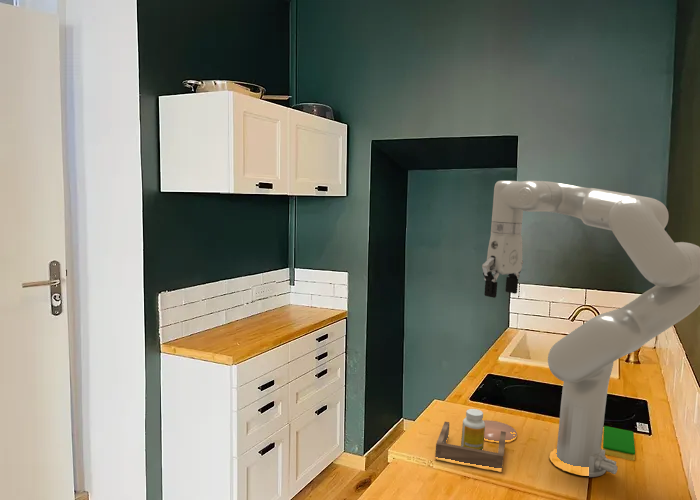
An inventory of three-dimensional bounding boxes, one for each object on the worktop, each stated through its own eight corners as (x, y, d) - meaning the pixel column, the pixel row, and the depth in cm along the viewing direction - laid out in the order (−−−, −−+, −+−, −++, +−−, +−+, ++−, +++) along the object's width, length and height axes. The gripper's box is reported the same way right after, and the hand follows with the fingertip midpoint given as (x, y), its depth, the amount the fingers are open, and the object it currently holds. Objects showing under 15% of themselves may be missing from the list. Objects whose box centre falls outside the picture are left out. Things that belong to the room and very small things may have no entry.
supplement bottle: (457, 444, 140) (459, 408, 139) (476, 443, 142) (479, 406, 140) (466, 455, 135) (469, 417, 134) (487, 453, 137) (489, 415, 135)
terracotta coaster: (525, 435, 147) (525, 432, 147) (499, 448, 139) (500, 445, 139) (487, 419, 156) (487, 416, 156) (460, 430, 148) (460, 428, 148)
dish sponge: (632, 439, 148) (633, 431, 148) (634, 462, 136) (635, 453, 136) (603, 433, 151) (604, 425, 151) (602, 455, 139) (603, 446, 139)
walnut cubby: (501, 472, 127) (503, 456, 127) (435, 460, 132) (436, 444, 132) (504, 447, 140) (505, 431, 140) (443, 436, 145) (444, 421, 144)
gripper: (500, 231, 135) (494, 301, 138) (536, 229, 147) (531, 293, 149) (474, 228, 141) (469, 295, 143) (511, 226, 152) (506, 288, 155)
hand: (500, 294), depth 146 cm, fingers open, 9 cm apart
